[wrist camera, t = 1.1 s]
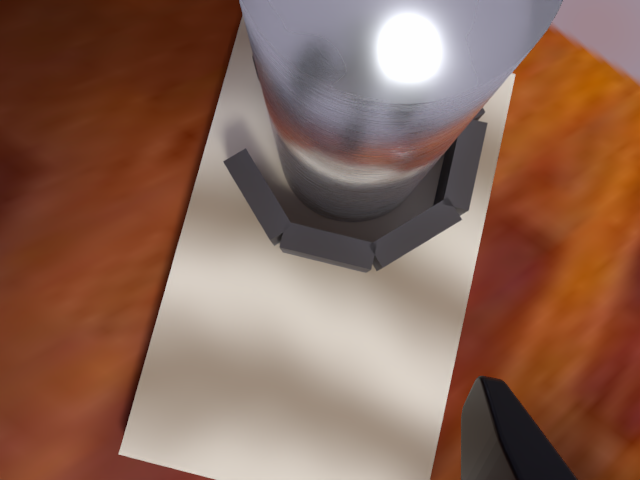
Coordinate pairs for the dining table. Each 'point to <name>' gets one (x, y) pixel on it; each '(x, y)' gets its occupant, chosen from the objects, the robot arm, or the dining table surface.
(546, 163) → the dining table surface
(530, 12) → the grey round cylinder
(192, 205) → the ring stand
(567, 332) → the dining table surface
